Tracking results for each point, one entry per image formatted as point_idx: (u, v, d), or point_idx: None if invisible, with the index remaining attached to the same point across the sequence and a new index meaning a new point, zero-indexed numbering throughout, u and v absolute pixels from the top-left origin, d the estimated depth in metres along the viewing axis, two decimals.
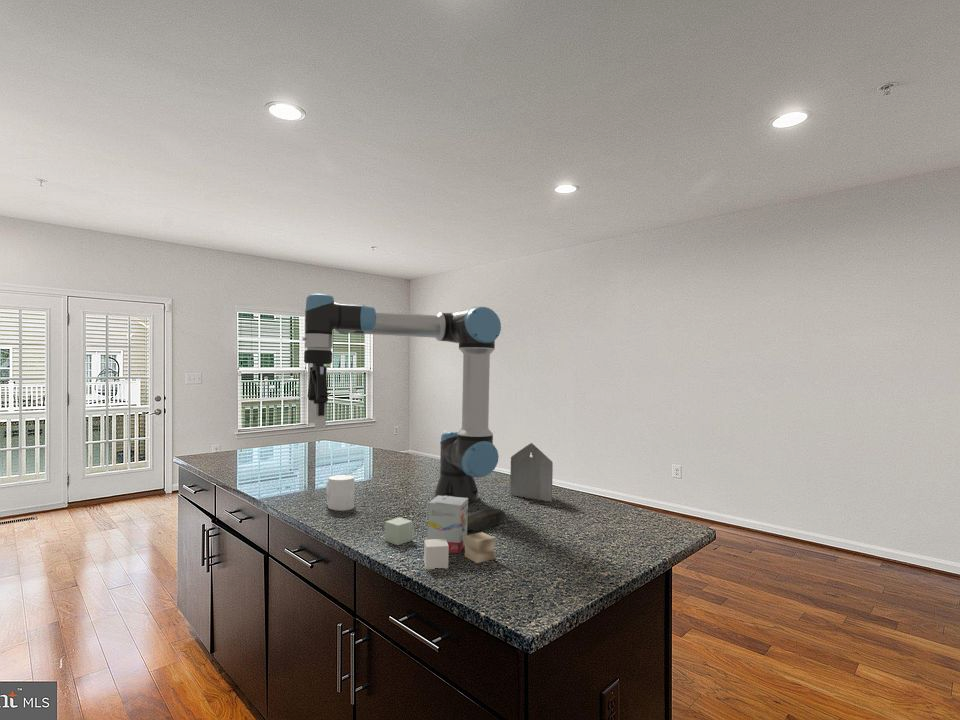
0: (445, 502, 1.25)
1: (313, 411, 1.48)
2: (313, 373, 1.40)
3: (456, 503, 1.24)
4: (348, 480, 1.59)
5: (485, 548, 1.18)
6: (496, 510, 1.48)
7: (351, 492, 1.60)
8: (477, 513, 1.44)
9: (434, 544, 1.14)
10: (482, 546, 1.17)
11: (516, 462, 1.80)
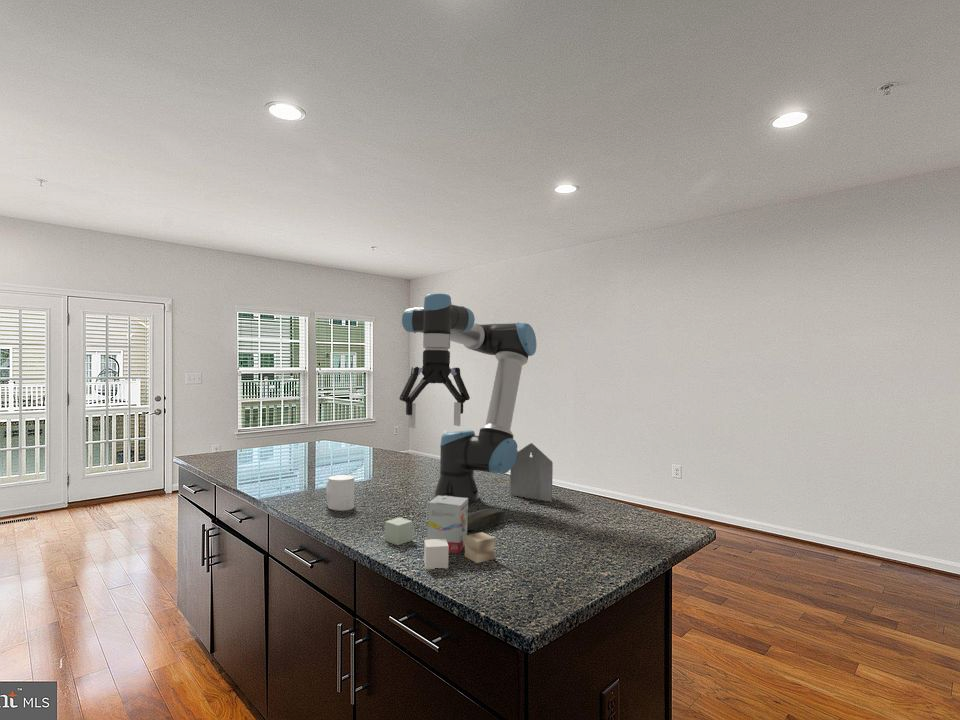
0: (445, 502, 1.25)
1: (456, 413, 1.43)
2: None
3: (456, 503, 1.24)
4: (348, 480, 1.59)
5: (485, 548, 1.18)
6: (496, 510, 1.48)
7: (351, 492, 1.60)
8: (477, 513, 1.44)
9: (434, 544, 1.14)
10: (482, 546, 1.17)
11: (516, 462, 1.80)
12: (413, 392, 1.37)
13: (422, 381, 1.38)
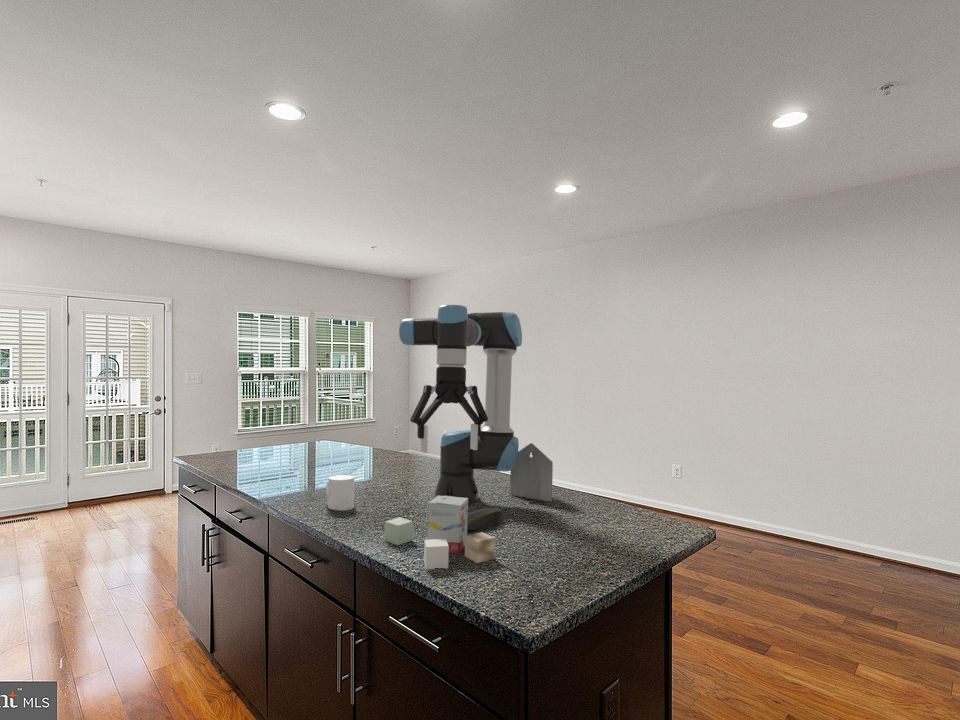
0: (445, 502, 1.25)
1: (472, 436, 1.30)
2: None
3: (456, 503, 1.24)
4: (348, 480, 1.59)
5: (485, 548, 1.18)
6: (494, 509, 1.48)
7: (351, 492, 1.60)
8: (476, 512, 1.44)
9: (434, 544, 1.14)
10: (482, 546, 1.17)
11: (516, 462, 1.80)
12: (425, 413, 1.25)
13: (435, 401, 1.26)
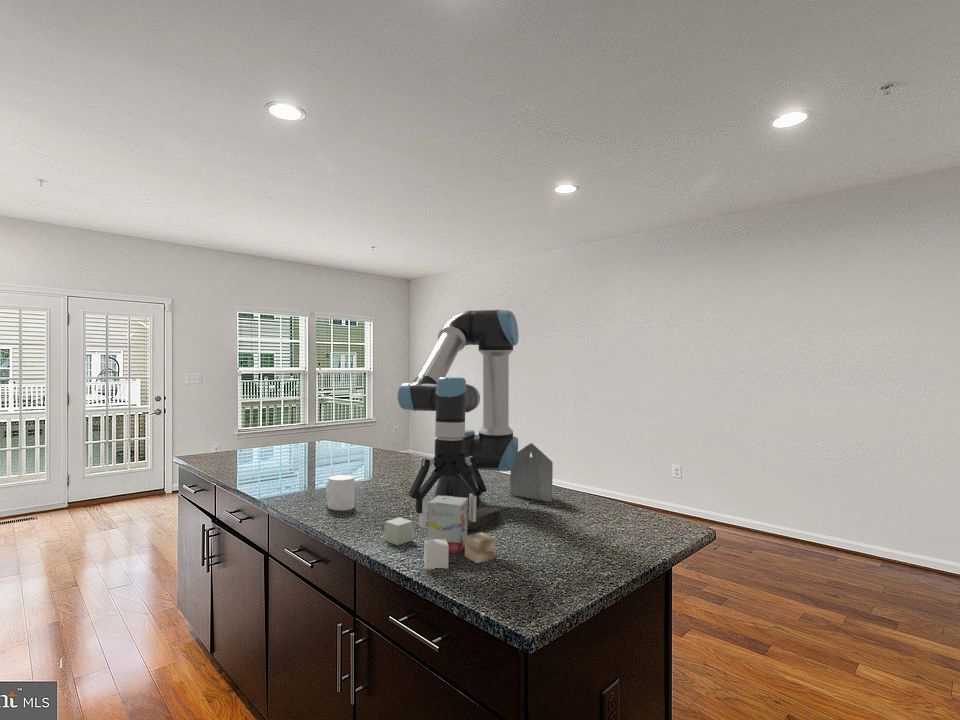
0: (445, 502, 1.25)
1: (471, 507, 1.30)
2: None
3: (456, 503, 1.24)
4: (348, 480, 1.59)
5: (485, 548, 1.18)
6: (494, 509, 1.49)
7: (351, 492, 1.60)
8: (476, 512, 1.45)
9: (434, 544, 1.14)
10: (482, 546, 1.17)
11: (516, 462, 1.80)
12: (423, 487, 1.24)
13: (434, 474, 1.26)
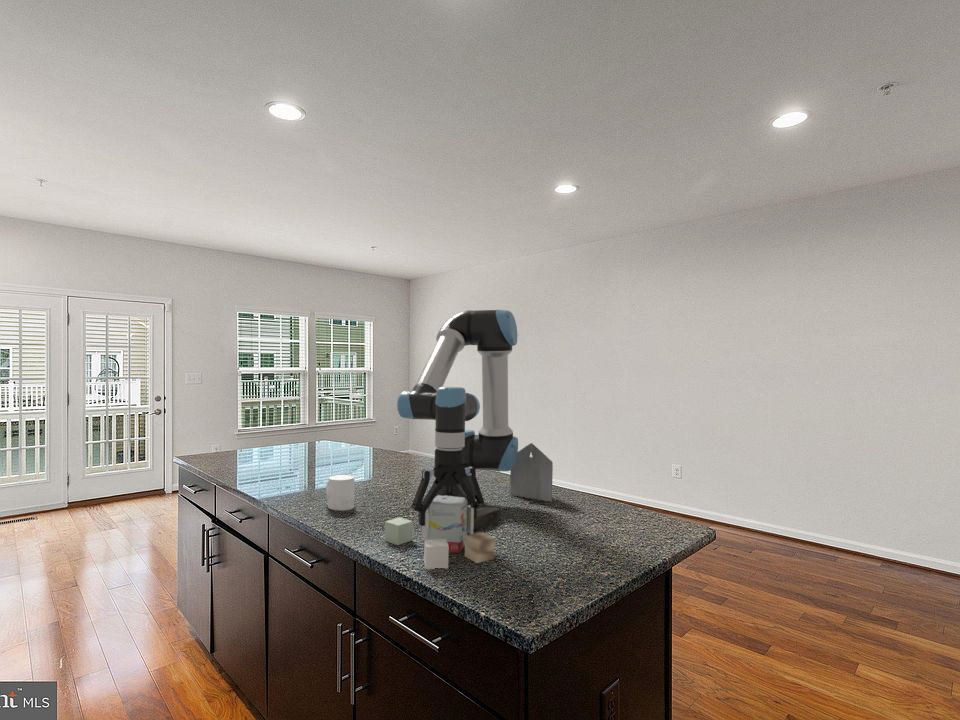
0: (445, 502, 1.25)
1: (468, 519, 1.30)
2: None
3: (456, 503, 1.24)
4: (348, 480, 1.59)
5: (485, 548, 1.18)
6: (493, 508, 1.49)
7: (351, 492, 1.60)
8: None
9: (434, 544, 1.14)
10: (482, 546, 1.17)
11: (516, 462, 1.80)
12: (425, 499, 1.25)
13: (434, 485, 1.26)
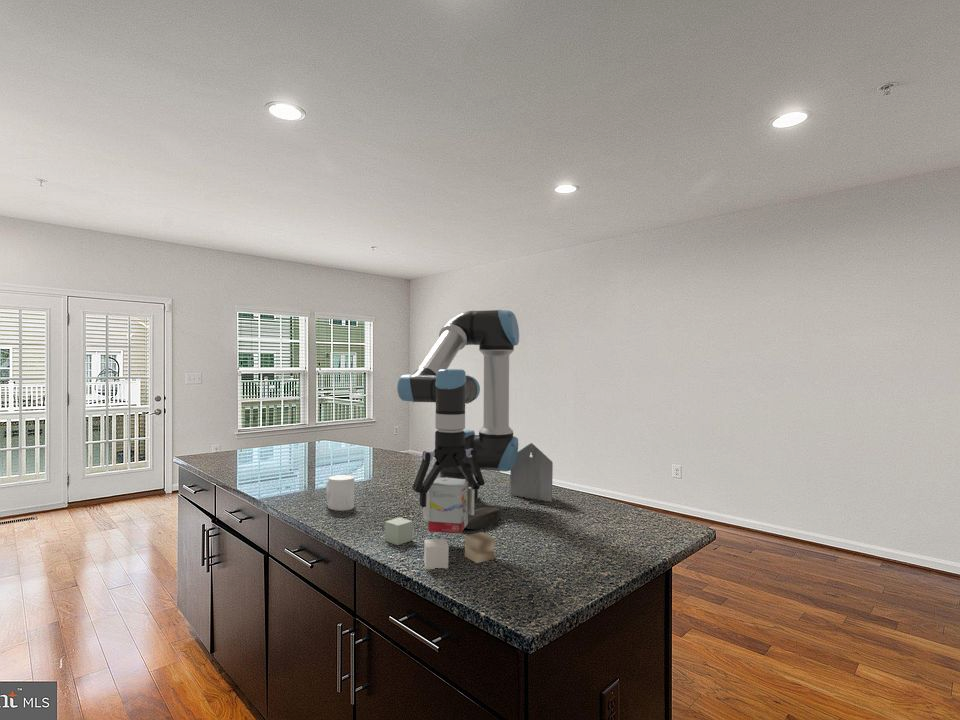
0: (446, 483, 1.25)
1: (469, 500, 1.30)
2: None
3: (457, 484, 1.25)
4: (348, 480, 1.59)
5: (485, 548, 1.18)
6: (493, 509, 1.49)
7: (351, 492, 1.60)
8: (475, 512, 1.45)
9: (434, 544, 1.14)
10: (482, 546, 1.17)
11: (516, 462, 1.80)
12: (426, 481, 1.25)
13: (435, 466, 1.26)
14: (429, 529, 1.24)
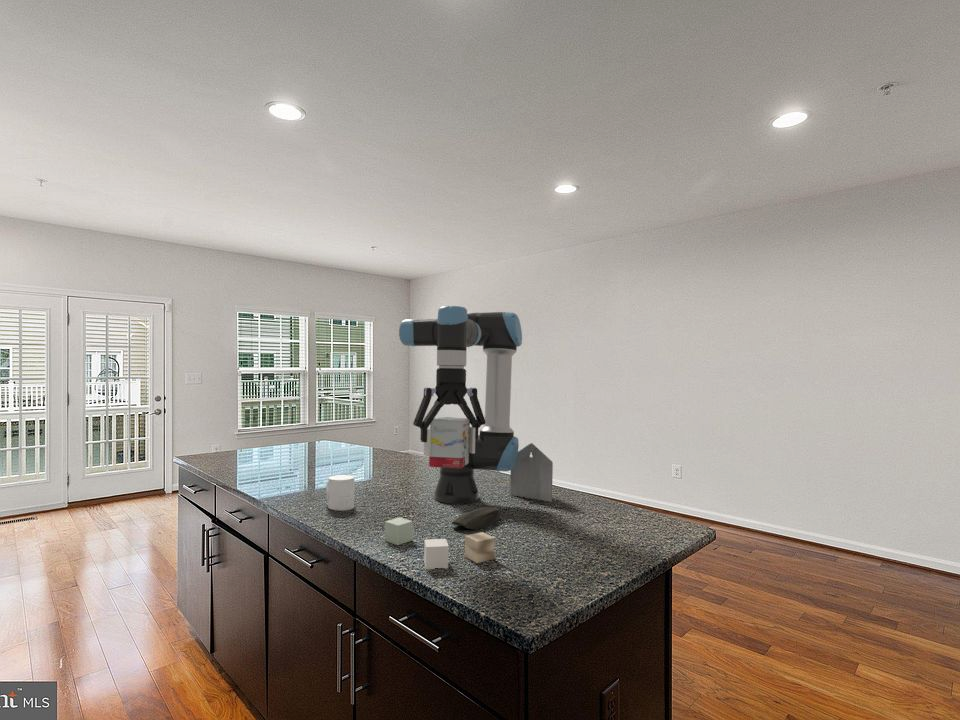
0: (447, 419, 1.25)
1: (470, 439, 1.30)
2: None
3: (458, 420, 1.25)
4: (348, 480, 1.59)
5: (485, 548, 1.18)
6: (493, 508, 1.49)
7: (351, 492, 1.60)
8: (475, 512, 1.45)
9: (434, 544, 1.14)
10: (482, 546, 1.17)
11: (516, 462, 1.80)
12: (427, 416, 1.25)
13: (436, 403, 1.26)
14: (430, 464, 1.24)
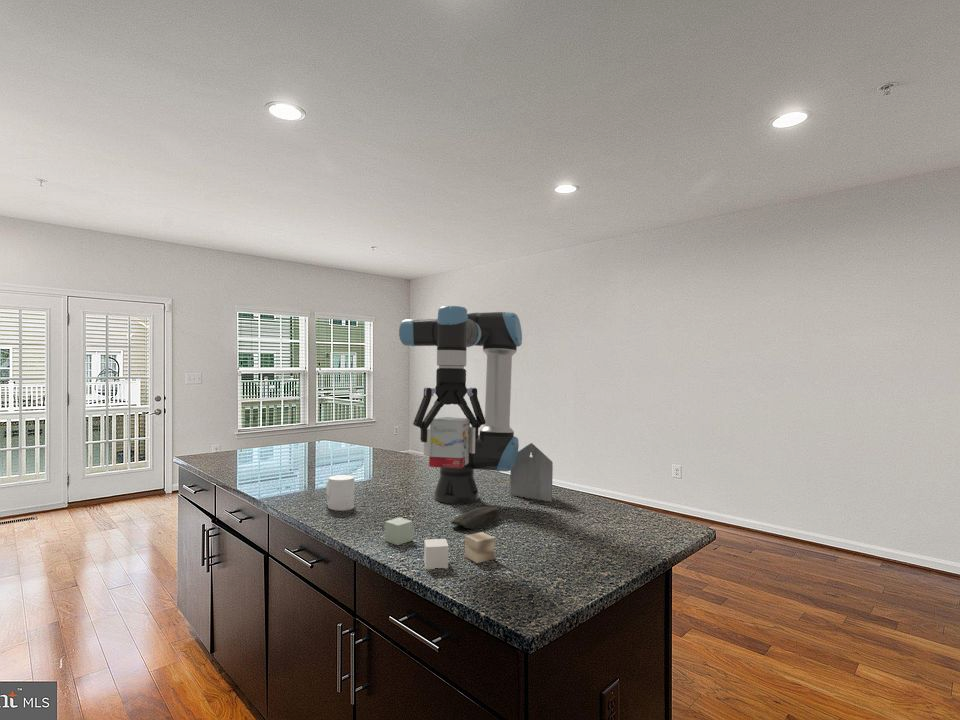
0: (447, 419, 1.25)
1: (470, 439, 1.30)
2: None
3: (458, 420, 1.25)
4: (348, 480, 1.59)
5: (485, 548, 1.18)
6: (492, 508, 1.50)
7: (351, 492, 1.60)
8: (474, 511, 1.46)
9: (434, 544, 1.14)
10: (482, 546, 1.17)
11: (516, 462, 1.80)
12: (427, 416, 1.25)
13: (436, 403, 1.26)
14: (430, 464, 1.24)
